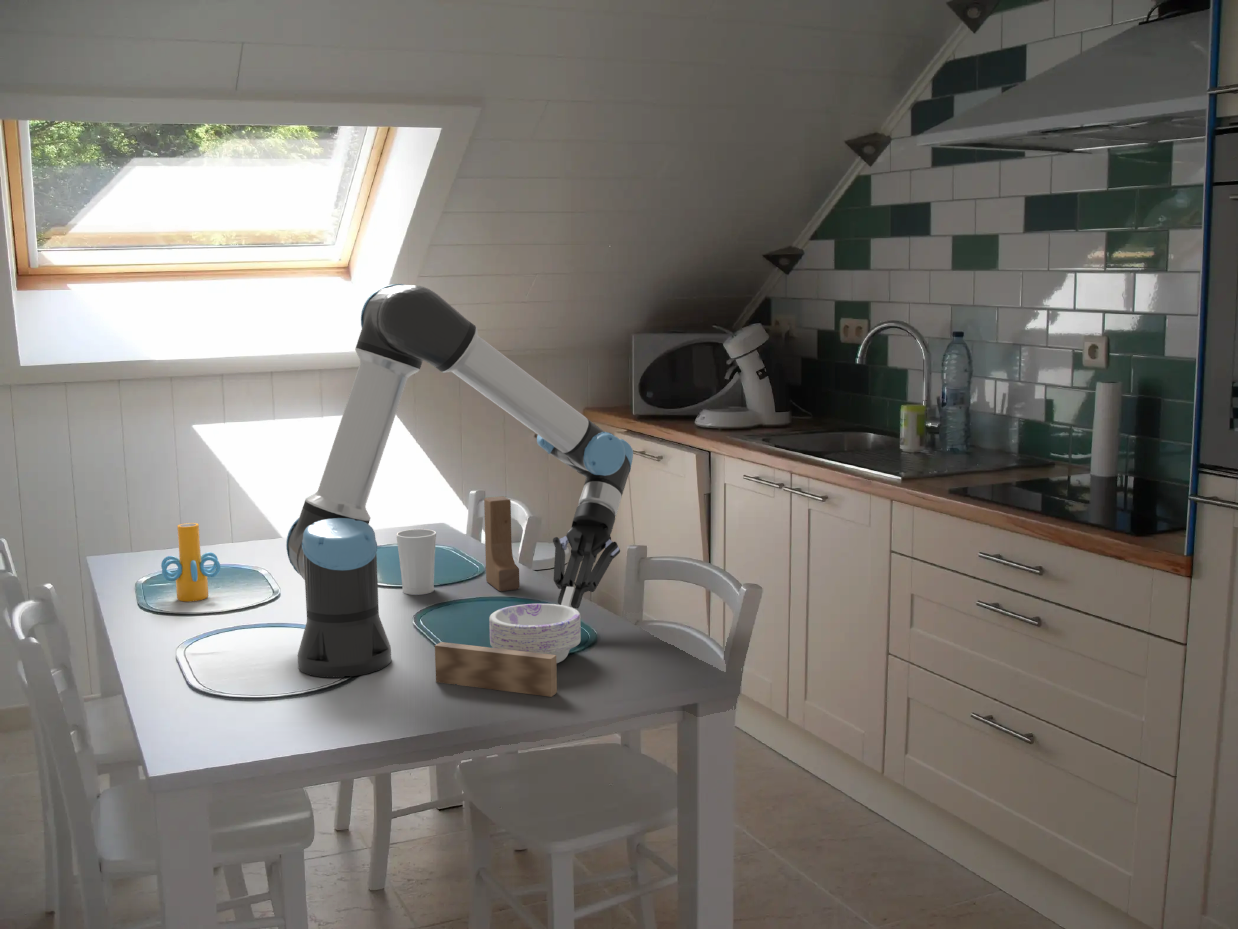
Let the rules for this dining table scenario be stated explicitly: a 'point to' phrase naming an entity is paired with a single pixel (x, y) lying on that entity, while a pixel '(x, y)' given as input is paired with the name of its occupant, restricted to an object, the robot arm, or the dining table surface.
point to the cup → (417, 560)
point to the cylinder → (190, 565)
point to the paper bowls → (536, 629)
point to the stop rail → (496, 669)
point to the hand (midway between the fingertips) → (562, 622)
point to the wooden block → (499, 545)
